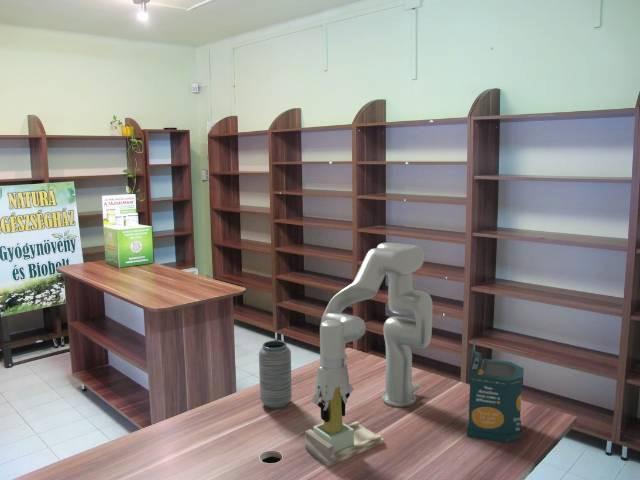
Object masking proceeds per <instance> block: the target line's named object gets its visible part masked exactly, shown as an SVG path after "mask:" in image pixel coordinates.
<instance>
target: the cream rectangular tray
mask: <svg viewBox="0 0 640 480" xmlns="http://www.w3.org/2000/svg"><path fill="white" fill-rule="evenodd" d="M347 425H348V426H349V427H351V428H353V429H354V446H351V447H349V448H347V449H344V450H342V451H339V452H337V453H335V454H334V445H332V444H331V443H329V442H328V441H326V440H325V439H324V438H322V437H321V436H319V435H318V434H316V433H315V432H314V431H313V429H310V428H309V429H307V430H305V431H304V441H305V443H304V445H305V446H304V449H305V450H306V451H307V452H308V453H310V454H311V455H312V456H313V457H315V458H316V459H318V460H319V461H320V462H322V463H323V464H324V465H326V466H327V467H331V466H333V465H335V464H337V463H341V462H342V461H346V460H348V459H349V458H352V457H353V456H356V455H358V454H360V453H363V452H365V451H368V450H370V449H372V448H374V447H376V446H380V445H381V444H382V445H383V443H385V441H384V438H383V437H382V435H380V434H378V435H377V433H375V432H373V431H372V430H370V429H368V428H366V427H364V426H363V425H361V424H360V422H359V421H358V420H357V421H354V422H352V423H349V424H347Z"/></svg>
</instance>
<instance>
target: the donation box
mask: <svg viewBox="0 0 640 480" xmlns="http://www.w3.org/2000/svg"><path fill="white" fill-rule="evenodd" d="M482 356H483V354H482V353H480V352H478V351H476V339H475V338H474V339H473V342H472V346H471V349H470V352H469V364H468V365H469V366H468V367H469V369H468V370H469V371H468V384H469V400H468V401H469V403H468V404H469V405H468V406H469V407H468V424H467V428H466V429H467V431H466V437H467V438H473V439H481V440H485V441H492V442H497V443H502V444H503V443H504V444H508V443H511V442H514V441H517V440H520V439H521V433H522V432H521V431H522V429H521V428H522V421H521V412H522V411H521V410H522V408H521V407H522V388H523V387H522V386H523V385H524V374H525V373H524V369H525V368H524V367H522V366H520V365H518V364H516V363H513V362H511V361H507V360H499V359H497V360H496V359H490V358H489V359H487V358H482Z"/></svg>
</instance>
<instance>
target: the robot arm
mask: <svg viewBox="0 0 640 480" xmlns="http://www.w3.org/2000/svg"><path fill="white" fill-rule="evenodd" d="M424 261H425V253H424V250H423V248H422V247H420V246H418V245H416V244H407V243H405V244H404V243H398V242H397V243H396V242H380V243H379V244H378V245H377V246H376V247H375V248H371V249H369V250H368V252H367V253H366V254H365V256H364V258H363V261H362V263H361V265H360V266H359V269H358V271H357V272H356V275H355V278H354V280H353V281H352V283H350V284H348V286H346V287H344V288H343V289H341V290H340V291H339V292H338V293H336V294H335V295H333V297H332V298H331V299H330V300H329V302H328V304H327V306H326V308H325V310H324V312H323V314H322V317H321V320H320V325H319V349H320V350H319V355H320V357H319V358H320V359H319V360H320V362H319V363H320V364H319V366H318V367H317V370H316V375H315V388H314V389H315V390H314V393H315V394H314V396H313V397H312V399H311V402H312V403H313V404H315V405H316V406H317V407H318V408H319V409H320V419H321V420H322V421H323V422H324V421H325V422H329V410H328V409H327V408H328V404H329V400H332V399H333V396H334V391H335V388H338V387H340V393H341V396H342V404H341V406H342V417H346V404H347V403H348V399H349V398H350V396H351V393H352V392H353V391H354V387H353V386H352V385H351V384H350V376H349V371H348V370H349V369H348V366H347V363H346V359H348V354H347V353H346V344H347V343H350V342H355V341H358V340H359V339H361V338H363V336H364V335H365V333H366V329H367V326H366V323H365V321H364V319H363V318H361V317H359V316H357V315H352V314H347V313H342V312H343V311H344V310H345V309H346V308H347V307H349V306H351V305H352V304H353V305H354V304H356V303H359V302H364V301H365V300H370V299H373V298H374V297H375V296H376V295H377V293H378V291H379V289H380V286H381V285H382V283H383V281H384V279H385V276H387V277H388V289H387V291H388V297H387V302H388V309H389V311H390V312H391V313H393V314H396V315H401V316H406V317H401V316H390V317H388V318H387V319H386V320H385V322H384V323H383V328H382V329H383V330H382V331H383V337H384V342H385V391H384V392H383V393H382V394H381V401H382V402H383V404H386V405H388V406H392V407H409V406H412V405H413V404H415V403H416V400H417V398H416V395H415V394H414V392H415V391H418V390H420V389H421V385H420V384H419V383H417V384H415V385H414V384H413V383H412V379H413V378H412V376H413V375H412V374H413V372H412V371H413V370H412V369H413V354H412V350H411V347H412V348H418V349H426V348H428V347H429V345H430V343H431V340H432V332H433V331H432V330H433V299H432V297H431V295H430V294H429V293H428V292H426V291H422V290H417V289H416V290H415V289H414V288H413V274H412V273H414V272H416V271H418V270H419V269H421V267H422V266H423V263H424ZM408 317H412V318H414V319H412V318H408ZM324 401H325V403H324Z"/></svg>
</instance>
